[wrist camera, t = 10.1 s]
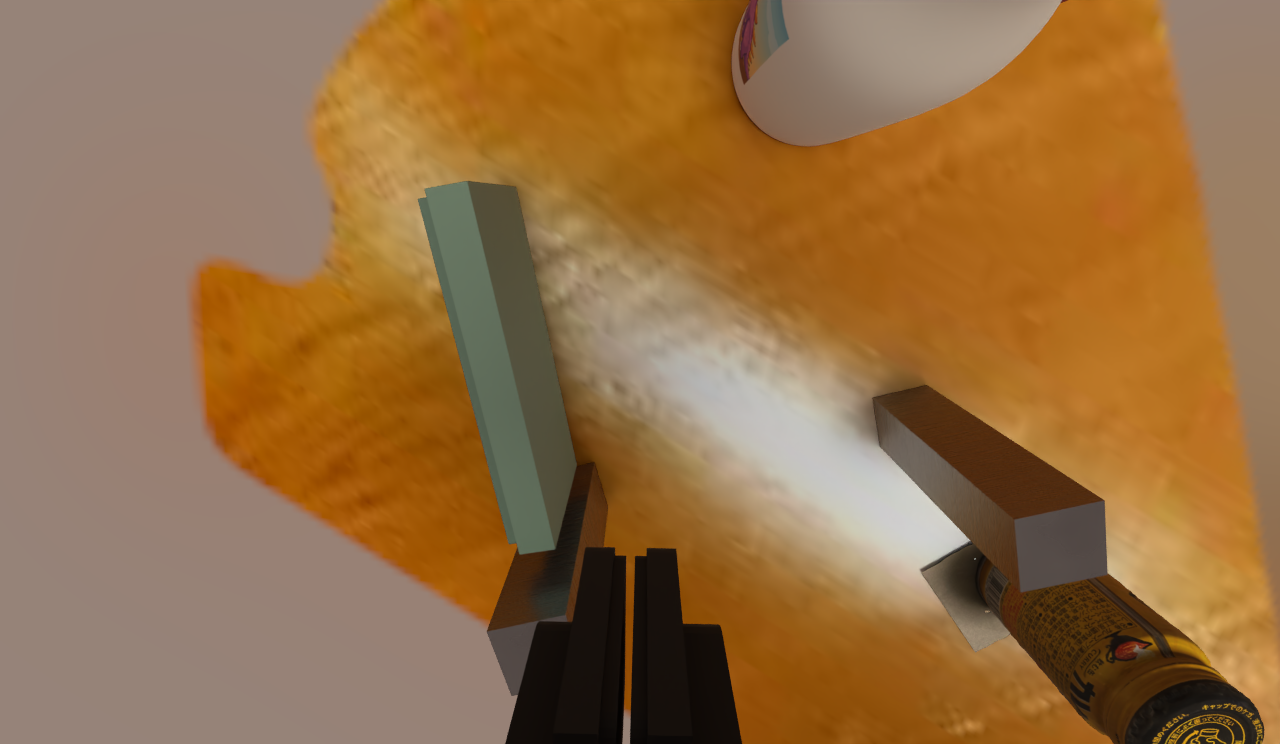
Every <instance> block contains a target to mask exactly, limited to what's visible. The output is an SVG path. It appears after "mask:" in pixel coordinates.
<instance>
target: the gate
mask: <svg viewBox="0 0 1280 744" xmlns="http://www.w3.org/2000/svg"><path fill="white" fill-rule="evenodd" d="M425 193H426V198H420V199H418V202H419V206H420V209H421V213H422V217H423V221H424V225H425V228H426V232H427V236H428V240H429V243H430V247H431V251H432V255H433V259H434V262H435V266H436V270H437V274H438V278H439V281H440V285H441V289H442V293H443V296H444V300H445V304H446V308H447V312H448V315H449V319H450V323H451V327H452V331H453V334H454V338H455V342H456V346H457V349H458V353H459V357H460V361H461V365H462V368H463V372H464V376H465V380H466V384H467V387H468V391H469V395H470V399H471V402H472V406H473V410H474V414H475V418H476V421H477V425H478V429H479V433H480V437H481V440H482V444H483V448H484V452H485V455H486V459H487V463H488V467H489V471H490V474H491V478H492V482H493V486H494V490H495V493H496V497H497V501H498V505H499V509H500V512H501V516H502V520H503V524H504V527H505V531H506V535H507V539H508V543H509V544H514V543H517V547H518V551H519V554H527V553H534V552H541V551H548V550H554V549H556V545H557V541H558V537H559V533H560V529H561V525H562V521H563V518H564V514H565V510H566V506H567V502H568V498H569V494H570V490H571V486H572V482H573V478H574V474H575V470H576V467H577V463H576V459H575V454H574V449H573V445H572V440H571V436H570V431H569V427H568V422H567V417H566V413H565V408H564V404H563V399H562V395H561V390H560V385H559V381H558V376H557V372H556V367H555V362H554V358H553V353H552V349H551V344H550V340H549V335H548V330H547V326H546V321H545V317H544V312H543V308H542V303H541V298H540V294H539V289H538V285H537V280H536V275H535V271H534V266H533V262H532V257H531V253H530V248H529V243H528V239H527V234H526V230H525V225H524V221H523V216H522V211H521V207H520V202H519V198H518V193H517V188H516V187H514V186H506V185H497V184H488V183H480V182H471V181H464V182H459V183H453V184H448V185H442V186H437V187H432V188H426V189H425Z"/></svg>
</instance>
